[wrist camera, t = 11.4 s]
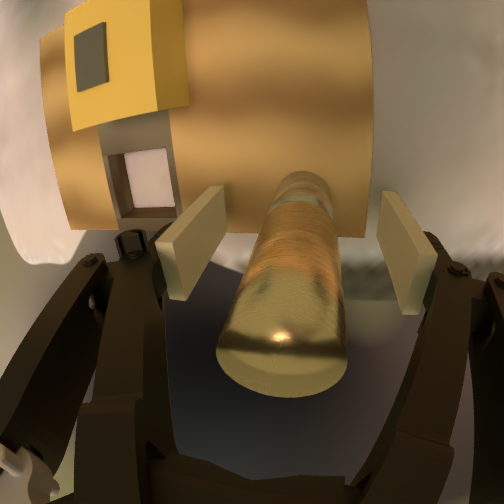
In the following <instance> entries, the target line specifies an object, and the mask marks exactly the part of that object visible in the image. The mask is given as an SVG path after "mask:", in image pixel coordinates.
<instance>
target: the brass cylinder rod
mask: <svg viewBox="0 0 504 504" xmlns="http://www.w3.org/2000/svg"><path fill="white" fill-rule="evenodd" d="M345 324H346V323H345V309H344V295H343V284H342V273H341V264H340V255H339V246H338V238H337V230H336V223H335V216H334V209H333V202H332V196H331V191H330V188H329V186H328V184H327V183H326V182H325V180H324V179H323V178H321V177H320V176H319V175H317V174H315V173H312V172H309V171H297V172H293V173H291V174H289V175H287V176H286V177H284V178H283V179H282V180H281V182H280V183H279V185H278V187H277V189H276V192H275V194H274V197H273V200H272V202H271V205H270V207H269V210H268V213H267V215H266V218H265V220H264V223H263V226H262V228H261V231H260V233H259V236H258V239H257V241H256V244H255V246H254V249H253V252H252V254H251V257H250V259H249V262H248V264H247V267H246V270H245V272H244V275H243V277H242V280H241V283H240V285H239V288H238V291H237V293H236V296H235V298H234V301H233V303H232V306H231V309H230V311H229V314H228V316H227V319H226V322H225V324H224V327H223V330H222V332H221V335H220V337H219V340H218V343H217V346H216V354H217V359H218V362H219V363H220V366H221V367H222V368H223V370H224V371H225V372H226V373H227V374H228V375H229V376H230V377H231V378H232V379H233V380H235V381H236V382H237V383H239V384H241V385H242V386H245V387H246V388H248V389H251V390H253V391H256V392H259V393H262V394H266V395H271V396H277V397H302V396H308V395H312V394H316V393H319V392H322V391H324V390H326V389H328V388H330V387H331V386H333V385H334V384H335V383H336V382H338V381H339V379H340V378H341V377H342V376H343V374H344V372H345V369H346V367H347V344H346V325H345Z"/></svg>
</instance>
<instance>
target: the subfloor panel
mask: <svg viewBox="0 0 504 504" xmlns="http://www.w3.org/2000/svg"><path fill="white" fill-rule="evenodd" d="M182 4H183V23H184V39H185V53H186V66H187V77H188V89H189V99H190V105H189V106H183V107H176V108H171V109H165V110H159V111H154V112H149V113H144V114H139V115H134V116H130V117H126V118H121V119H117V120H113V121H109V122H105V123H101V124H98V125H94V126H91V127H87V128H84V129H80V130H77V131H74V132H73V129H72V122H71V115H70V108H69V99H68V90H67V79H66V64H65V24H63V25H62V26H60V27H58V28H57V29H55V30H54V31H52V32H50V33H49V34H47V35H46V36H44V37H43V38H41V39H40V67H41V84H42V95H43V104H44V113H45V120H46V127H47V133H48V139H49V145H50V150H51V155H52V160H53V165H54V169H55V174H56V178H57V182H58V186H59V190H60V194H61V197H62V201H63V205H64V208H65V212H66V215H67V218H68V222H69V225H70V228H71V230H131V229H143V230H154V231H155V230H156V231H159V230H160V229H161V228H162V227H163V226H165V225H167V224H169V223H171V222H175V221H176V219H177V218H178V217H179V216H180V215H181V214H182V213H183V212H184V211H185V210H186V209H187V208H188V207H189V206H190V205H191V204H192V203H193V202H194V201H195V200H196V199H197V198H198V197H199V196H201V195H202V194H203V193H204V192H205V191H206V190H207V189H208V188H209V187H210V186H223V190H224V200H225V209H226V218H227V227H228V230H227V232H235V233H260V231H261V228H262V226H263V223H264V220H265V218H266V215H267V213H268V210H269V207H270V205H271V202H272V200H273V197H274V194H275V192H276V189H277V187H278V185H279V183H280V182H281V180H282V179H283V178H284V177H286V176H287V175H289V174H291V173H293V172H297V171H309V172H312V173H315V174H317V175H319V176H320V177H321V178H323V179H324V180H325V182H326V183H327V184H328V186H329V188H330V191H331V196H332V202H333V209H334V216H335V223H336V230H337V237H356V238H364V237H365V230H366V221H367V212H368V202H369V191H370V179H371V164H372V143H373V74H372V54H371V40H370V29H369V19H368V11H367V3H366V0H182ZM165 147H166V151H167V158H168V165H169V171H170V178H171V184H172V190H173V196H174V202H175V207H160V208H134V205H133V201H132V196H131V191H130V186H129V182H128V177H127V171H126V166H125V161H124V155H123V153H128V152H134V151H141V150H149V149H156V148H165Z"/></svg>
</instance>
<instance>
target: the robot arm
mask: <svg viewBox="0 0 504 504" xmlns="http://www.w3.org/2000/svg"><path fill="white" fill-rule="evenodd" d="M227 230H228V227H227V218H226V209H225V200H224V190H223V186H210V187H209V188H208V189H207V190H206V191H205V192H204V193H203V194H202V195H201V196H199V197H198V198H197V199H196V200H195V201H194V202H193V203H192V204H191V205H190V206H189V207H188V208H187V209H186V210H185V211H184V212H183V213H182V214H181V215H180V216H179V217H178V218H177V219H176V221H175V222H171V223H169V224H167V225H165V226H163V227H162V228H161V229H160V230H159V231H158V233H156V234H155V235H154V236H153V237H152V238H151V239H150V240H149V241H147V237H146V233H145V230H143V229H131V230H127V231H125V232H122V233H121V234H119V235H118V236H116V238H115V239H114V240H115V243H116V246H117V250H118V253H119V256H120V259H119V261H116V262H109V263H106V260H105V257H104V255H103V254H101V253H95V254H93V253H92V254H90V255H87V256H86V257H84V258H82V259H81V260H80V261H79V262H78V264H77V265H76V266H75V267H74V268H73V270H72V271H71V272H70V274H69V275H68V276H67V278H66V279H65V280H64V281H63V283H62V284H61V285H60V287H59V288H58V290H57V291H56V292H55V294H54V295H53V296H52V297H51V299H50V300H49V302H48V303H47V304H46V306H45V307H44V309H43V310H42V312H41V313H40V315H39V316H38V317H37V319H36V321H35V322H34V324H33V325H32V327H31V328H30V330H29V331H28V333H27V334H26V336H25V337H24V339H23V341H22V342H21V344H20V345H19V347H18V349H17V351H16V352H15V354H14V355H13V357H12V359H11V361H10V362H9V364H8V366H7V368H6V369H5V371H4V374H3V375H2V377H1V379H0V504H437V502H438V500H439V498H440V495H441V493H442V490H443V488H444V485H445V482H446V480H447V477H448V474H449V472H450V469H451V466H452V463H453V458H454V448H452V447H451V446H450V444H449V442H450V437H451V434H452V430H453V427H454V423H455V419H456V415H457V411H458V406H459V401H460V397H461V392H462V387H463V381H464V375H465V369H466V362H467V354H468V353H469V360H470V368H471V377H472V388H473V403H474V459H473V472H472V483H471V491H470V499H469V504H504V274H502V273H498V272H492V273H490V274H489V275H488V278H487V280H486V282H484V281H481V280H477V279H473V278H472V275H471V272H470V270H469V269H468V268H467V267H466V266H464V265H463V264H461V263H459V262H456V261H452V259H451V258H450V256H449V254H448V253H447V251H446V250H445V249H444V247H443V245H441V242H440V241H439V240H438V238H437V237H436V236H435V235H433V234H432V233H430V232H425V231H422V229H421V228H420V226H419V225H418V223H417V222H416V220H415V219H414V217H413V216H412V214H411V213H410V212H409V210H408V209H407V207H406V206H405V205H404V203H403V202H402V200H401V199H400V198H399V196H398V195H397V194H396V192H393V191H382V196H381V205H380V214H379V221H378V229H377V239H378V241H379V244H380V247H381V250H382V253H383V256H384V258H385V261H386V264H387V267H388V270H389V273H390V276H391V280H392V283H393V286H394V289H395V293H396V296H397V299H398V303H399V306H400V310H401V313H402V315H418V314H419V313H420V310H421V307H422V304H424V307H425V309H426V312H425V314H424V317H423V319H422V322H421V325H420V327H419V329H418V332H417V333H418V337H417V340H416V343H415V347H414V350H413V353H412V356H411V359H410V362H409V364H408V368H407V370H406V373H405V376H404V378H403V381H402V384H401V386H400V389H399V392H398V394H397V396H396V399H395V401H394V403H393V406H392V408H391V410H390V412H389V415H388V417H387V419H386V421H385V424H384V426H383V428H382V430H381V432H380V434H379V436H378V438H377V440H376V442H375V444H374V446H373V448H372V450H371V452H370V453H369V455H368V457H367V459H366V461H365V462H364V464H363V466H362V467H361V469H360V470H359V472H358V473H357V475H356V476H355V477H354V479H353V480H352V482H351V483H350V485H346V484H345V476H310V475H297V476H291V477H283V478H274V479H264V480H250V479H247V478H244V477H242V476H240V475H237V474H235V473H233V472H230V471H228V470H226V469H224V468H221V467H219V466H217V465H215V464H213V463H211V462H209V461H205V460H201V459H197V458H192V457H189V456H185V455H182V454H179V452H178V449H177V447H176V443H175V439H174V432H173V424H172V414H171V405H170V394H169V382H168V370H167V353H166V331H165V302H164V298H163V295H162V294H163V293H164V291H165V290H166V288H167V290H168V294H169V298H170V299H175V300H184V301H186V300H187V298H188V296H189V295H190V293H191V291H192V289H193V288H194V286H195V284H196V283H197V281H198V279H199V277H200V276H201V274H202V272H203V271H204V269H205V267H206V265H207V264H208V262H209V260H210V259H211V257H212V255H213V254H214V252H215V250H216V248H217V247H218V245H219V243H220V242H221V240H222V238H223V237H224V235H225V233H226V232H227ZM89 298H91V300H92V303H93V305H92V307H91V308H90V307H89ZM95 369H96V373H95V380H94V389H93V397H92V401H91V402H90V403H83V404H82V402H83V399H84V396H85V394H86V391H87V389H88V386H89V384H90V381H91V379H92V375H93V374H94V371H95ZM77 416H78V417H77ZM76 419H77V428H76V440H75V458H74V492H73V493H71V494H69V495H66V496H64V497H61V498H59V499H57V500H54V501H51V502H50V495H51V496H55V495H57V494H58V493H59V490H60V487H59V484H58V482H57V481H56V480H54V479H53V476H54V475H55V473H56V472H57V470H58V468H59V466H60V464H61V462H62V460H63V457H64V455H65V452H66V449H67V446H68V443H69V440H70V437H71V434H72V431H73V428H74V425H75V422H76Z"/></svg>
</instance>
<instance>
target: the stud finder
mask: <svg viewBox="0 0 504 504" xmlns="http://www.w3.org/2000/svg"><path fill="white" fill-rule="evenodd" d="M65 64H66V79H67V90H68V99H69V108H70V115H71V122H72V129H73V132H74V131H77V130H80V129H84V128H87V127H91V126H94V125H98V124H101V123H105V122H109V121H113V120H117V119H121V118H126V117H130V116H134V115H139V114H144V113H149V112H154V111H159V110H165V109H171V108H176V107H183V106H189V105H190V99H189V89H188V77H187V66H186V53H185V39H184V23H183V4H182V0H88V1H86V2H84V3H82V4H80V5H79V6H77V7H75V8H73V9H72V10H70V11H68V12H67V13H65Z"/></svg>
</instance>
